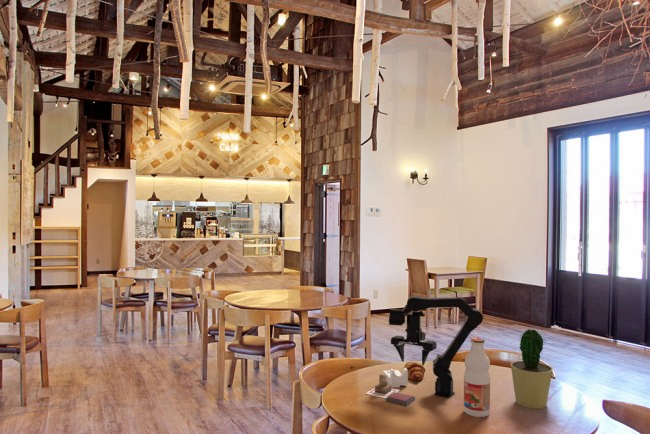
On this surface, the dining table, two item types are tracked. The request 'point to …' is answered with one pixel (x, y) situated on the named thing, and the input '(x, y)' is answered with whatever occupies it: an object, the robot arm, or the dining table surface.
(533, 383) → the potted cactus
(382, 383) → the stamp
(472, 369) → the fruit juice
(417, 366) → the croissant
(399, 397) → the ink pad
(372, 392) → the paper card
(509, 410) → the dining table surface
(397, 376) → the bracket
